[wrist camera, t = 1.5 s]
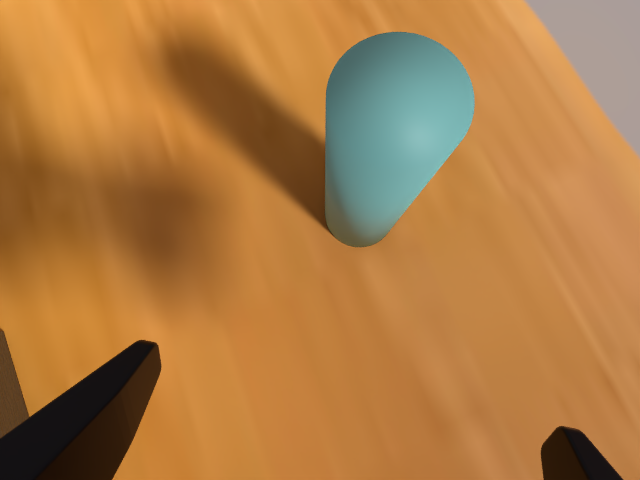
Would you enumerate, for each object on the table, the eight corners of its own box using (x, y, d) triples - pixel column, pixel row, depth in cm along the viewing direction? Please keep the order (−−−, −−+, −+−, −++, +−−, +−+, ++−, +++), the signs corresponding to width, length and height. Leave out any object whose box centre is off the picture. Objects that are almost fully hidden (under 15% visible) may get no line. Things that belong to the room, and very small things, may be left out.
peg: (405, 230, 24) (501, 133, 11) (342, 258, 23) (364, 192, 11) (375, 170, 24) (432, 11, 11) (313, 196, 24) (302, 64, 11)
